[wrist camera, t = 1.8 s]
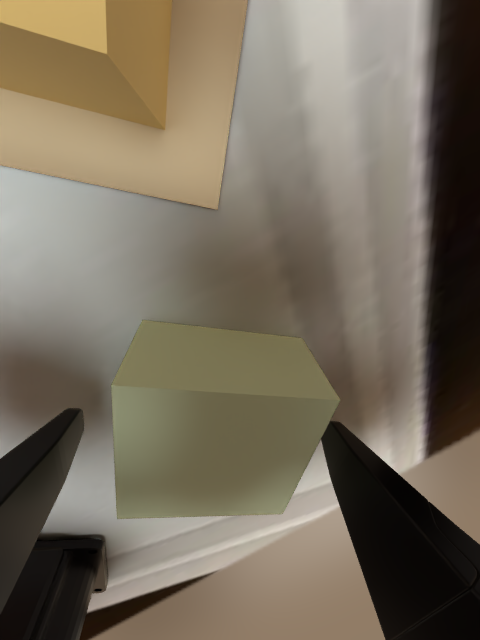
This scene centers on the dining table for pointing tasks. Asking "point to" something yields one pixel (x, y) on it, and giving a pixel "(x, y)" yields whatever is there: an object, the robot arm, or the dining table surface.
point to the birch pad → (137, 139)
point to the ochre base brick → (89, 54)
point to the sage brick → (214, 421)
